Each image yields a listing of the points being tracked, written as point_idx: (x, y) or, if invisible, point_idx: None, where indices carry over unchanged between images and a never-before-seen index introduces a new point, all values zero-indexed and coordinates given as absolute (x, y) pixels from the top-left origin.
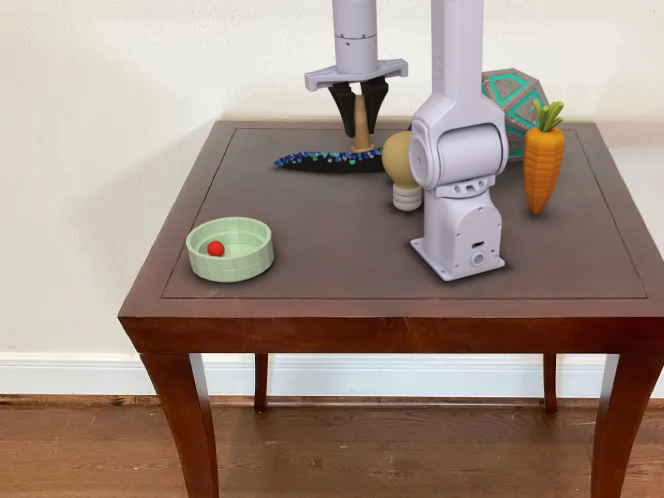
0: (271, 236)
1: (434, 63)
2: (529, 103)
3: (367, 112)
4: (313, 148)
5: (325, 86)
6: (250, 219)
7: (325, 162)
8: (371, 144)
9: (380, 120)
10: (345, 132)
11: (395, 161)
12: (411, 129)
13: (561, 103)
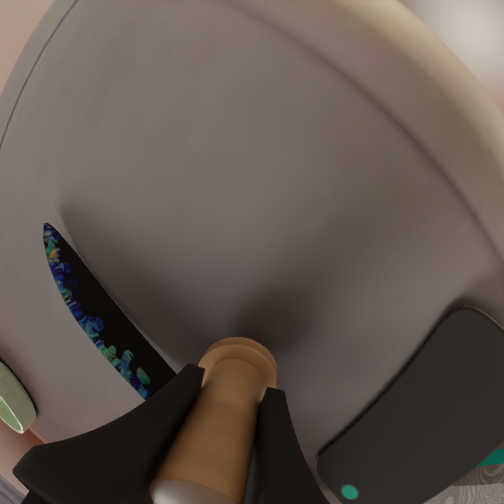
0: (24, 428)
1: None
2: None
3: (252, 465)
4: (180, 162)
5: (13, 491)
6: (3, 401)
7: (120, 342)
8: (271, 385)
9: (495, 135)
10: (185, 366)
11: None
12: (464, 337)
13: None
